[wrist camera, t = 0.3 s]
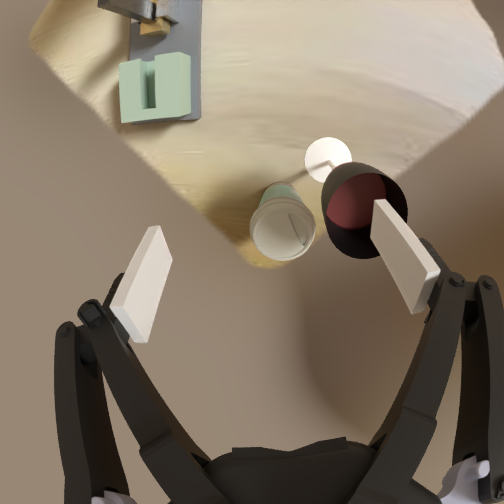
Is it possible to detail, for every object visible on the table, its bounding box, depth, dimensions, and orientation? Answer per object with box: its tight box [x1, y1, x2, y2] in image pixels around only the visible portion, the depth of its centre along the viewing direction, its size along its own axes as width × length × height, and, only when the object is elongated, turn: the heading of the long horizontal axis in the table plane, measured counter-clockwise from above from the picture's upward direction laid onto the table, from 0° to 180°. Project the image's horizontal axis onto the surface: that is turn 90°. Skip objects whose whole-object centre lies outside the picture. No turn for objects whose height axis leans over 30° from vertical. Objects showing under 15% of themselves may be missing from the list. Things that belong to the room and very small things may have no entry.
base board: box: [130, 0, 202, 125], centre depth 28 cm, size 30×11×2 cm, turn 179°
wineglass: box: [304, 137, 408, 259], centre depth 31 cm, size 8×9×20 cm
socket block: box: [119, 52, 191, 123], centre depth 30 cm, size 9×9×5 cm
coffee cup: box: [249, 182, 316, 261], centre depth 38 cm, size 9×9×12 cm
